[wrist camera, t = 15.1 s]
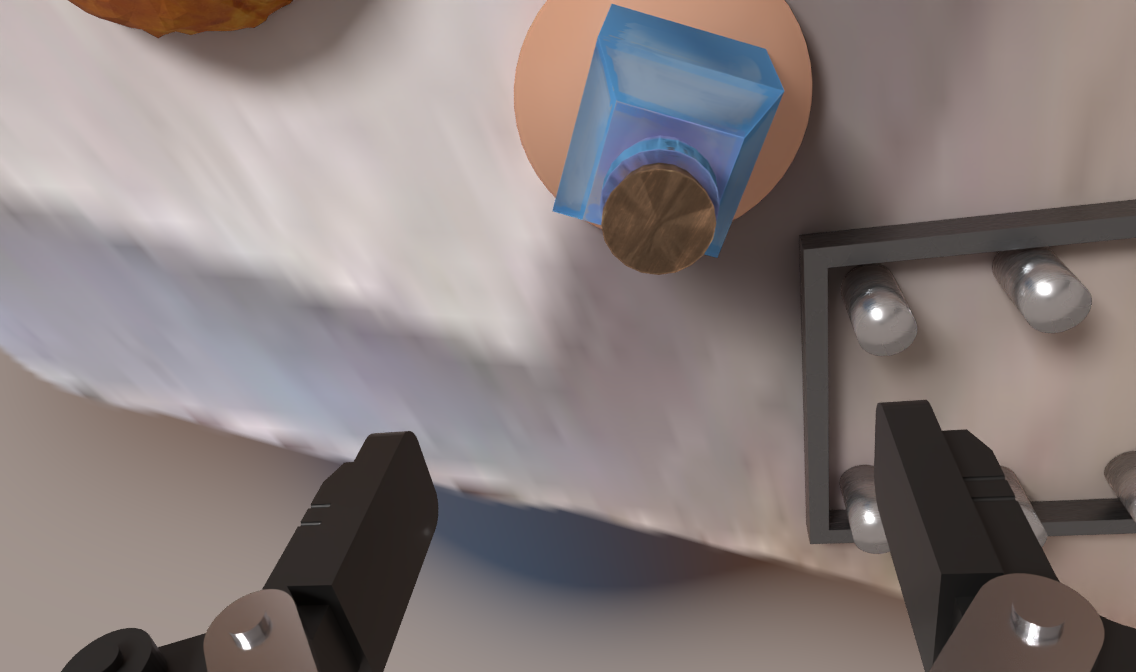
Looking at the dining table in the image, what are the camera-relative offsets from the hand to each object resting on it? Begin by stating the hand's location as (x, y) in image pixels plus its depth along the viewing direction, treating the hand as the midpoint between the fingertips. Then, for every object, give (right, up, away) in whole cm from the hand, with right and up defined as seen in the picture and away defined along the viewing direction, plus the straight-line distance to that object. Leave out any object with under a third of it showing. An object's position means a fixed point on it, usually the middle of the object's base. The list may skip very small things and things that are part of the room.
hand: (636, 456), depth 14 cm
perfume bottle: (+3, +12, +18) cm, 22 cm away
